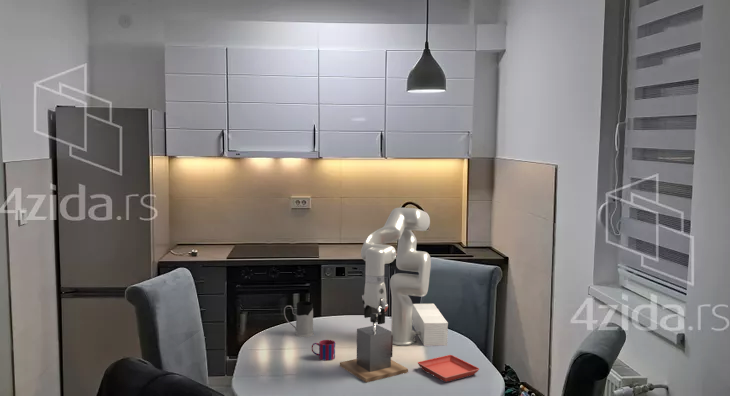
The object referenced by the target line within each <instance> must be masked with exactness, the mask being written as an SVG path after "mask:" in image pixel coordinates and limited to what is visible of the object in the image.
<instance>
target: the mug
mask: <svg viewBox="0 0 730 396" xmlns="http://www.w3.org/2000/svg"><path fill="white" fill-rule="evenodd" d="M315 345H317V346H318V348H319V349H318V351H319V352H318V353H317V352H316V351H315V350H314V346H315ZM311 352H312V353H313V354H314V355H315V356H318V357H319V360H321V361H324V362H325V361H328V362H329V361H333V360H335V359H336V341H335V340H332V339H323V340H320V341H319V343H318V342H314V343H312V345H311Z"/></svg>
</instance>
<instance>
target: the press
mask: <svg viewBox="0 0 730 396" xmlns="http://www.w3.org/2000/svg"><path fill="white" fill-rule="evenodd" d="M393 345H394V344H393V335H391V330H389V329H387V328H385V327H383V326H381V325H380V324H375V331H373V325H369V326H363V327H360V328H357V329H356V359H357V365H359V366H361V367H362V368H364V369H366V370H367V371H369V372H372V371H377V370H381V369H385V368H390V367H391V360H392V357H393Z"/></svg>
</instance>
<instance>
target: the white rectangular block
mask: <svg viewBox="0 0 730 396" xmlns="http://www.w3.org/2000/svg"><path fill="white" fill-rule="evenodd" d="M412 305H413V311H412V327H413V328H414V331H420V335H417V336H418V338H419V339H420V341H421V343H422V345H423V347H431V346H432V347H436V346H437V347H438V346H448V330H449V329H448V327H449V322H448V321H447V320H446V318H445V317H444V316H443V314H442V313H441V312H440V310H439V308H437V306H436V305H435V303H412Z"/></svg>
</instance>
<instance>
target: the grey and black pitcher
mask: <svg viewBox="0 0 730 396" xmlns="http://www.w3.org/2000/svg"><path fill="white" fill-rule="evenodd" d="M288 307H289V308H291V310H292V314H293V315H294V316H296V320H295V321H296V323H295V324H296V326H295V325H294V324H293V323H292V322H290V321H289V320H288V318H287V316H286V308H288ZM283 315H284V318H285V320H286V322H287V323H289V325H291V326H292V328H294V329H295V333H294V335H295V336H296V337H298V338H309V337H313V336H314V335H315V334H314V308H313V301H312V302H311V301H308V300H303V301H298V302H297V303H296V313H294V308H293V306H292V305H285V307H284V309H283Z"/></svg>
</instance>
